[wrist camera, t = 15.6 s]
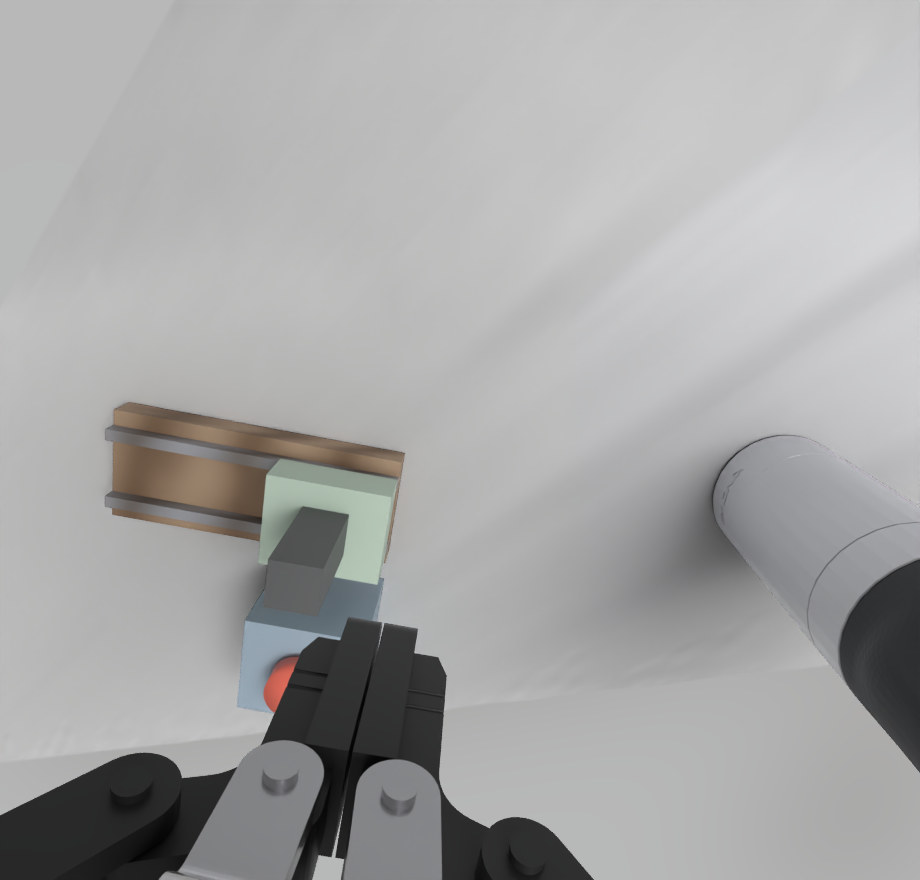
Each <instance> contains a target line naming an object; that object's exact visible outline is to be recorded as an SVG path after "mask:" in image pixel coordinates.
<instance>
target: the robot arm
mask: <svg viewBox="0 0 920 880" xmlns="http://www.w3.org/2000/svg"><path fill="white" fill-rule="evenodd" d="M713 511H714V514H715V518H716V521H717V523H718V525H719V527H720V529H721V530H722V532H723V533H724V534H725V536H726V537H727V538H728V539H729V540H730V542H731V543H732V544H733V545H734V547H735V548H736V549H737V550H738V552H739V553H740V554H741V555H742V557H743V558H744V559H745V561H746V562H747V563H748V564H749V566H750V567H751V568H752V569H753V570H754V572H755V573H756V574H757V575H758V577H759V578H760V579H761V580H762V582H763V583H764V584H765V585H766V587H767V588H768V589H769V590H770V591H771V593H772V594H773V595H774V596H775V598H776V599H777V600H778V601H779V603H780V604H781V605H782V606H783V608H784V609H785V610H786V611H787V612H788V614H789V615H790V616H791V617H792V619H793V620H794V621H795V622H796V624H797V625H798V626H799V627H800V629H801V630H802V631H803V632H804V633H805V635H806V636H807V637H808V638H809V640H810V641H811V642H812V643H813V645H814V646H815V647H816V648H817V650H818V651H819V652H820V653H821V654H822V656H823V657H824V658H825V659H826V660H827V662H828V663H829V664H830V665H831V666H832V668H833V669H834V670H835V671H836V673H837V674H838V675H839V676H840V678H841V679H842V680H843V681H844V682H845V684H846V685H847V686H848V687H849V689H850V690H851V691H852V692H853V693H854V695H855V696H856V697H857V698H858V700H859V701H860V702H861V703H862V704H863V706H864V707H865V708H866V709H867V710H868V711H869V713H870V714H871V715H872V716H873V717H874V718H875V720H876V721H877V722H878V723H879V724H880V725H881V727H882V728H883V729H884V730H885V731H886V732H887V734H889V736H890V737H891V738H892V739H893V740H894V742H895V743H896V744H897V745H898V746H899V748H900V749H901V750H902V751H903V752H904V754H905V755H906V756H907V757H908V759H909V760H910V761H911V762H912V764H913V765H914V766H915V767H916V769H917V770H918V771H919V772H920V506H918V505H916V504H915V503H913V502H912V501H910V500H908V499H907V498H905V497H904V496H902V495H900V494H899V493H897V492H896V491H894V490H892V489H891V488H889V487H887V486H886V485H884V484H883V483H881V482H879V481H878V480H876V479H875V478H873V477H871V476H870V475H868V474H867V473H865V472H863V471H862V470H860V469H859V468H857V467H855V466H854V465H852V464H851V463H850V462H848V461H846V460H845V459H843V458H841V457H840V456H838V455H837V454H835V453H833V452H832V451H830V450H829V449H827V448H825V447H824V446H822V445H820V444H819V443H817V442H814V441H812V440H810V439H808V438H803V437H798V436H776V437H771V438H766V439H763V440H761V441H758V442H756V443H753V444H751V445H750V446H748V447H746V448H745V449H743V450H742V451H740V452H739V453H738V454H737V455H736V456H735V457H734V458H732V459H731V460H730V461H729V463H728V464H727V465H726V467H725V468H724V469H723V471H722V472H721V474H720V476H719V478H718V481H717V483H716V485H715V490H714V495H713ZM381 628H382V623H381V622H376V621H370V620H364V619H359V618H353V617H348V619H347V622H346V625H345V628H344V630H343V633H342V636H341V639H340V640H335V639H329V638H324V637H317V638H316V639H315V640H314V641H313V642H311V643H310V644H309V645H308V646H307V647H305V648H304V649H303V650H302V651H301V653H300V656H299V658H298V660H297V663H296V665H295V667H294V671H293V672H292V674H291V677H290V679H289V681H288V684H287V687H286V688H285V691H284V693H283V695H282V698H281V700H280V702H279V705H278V707H277V709H276V711H275V714H274V716H273V718H272V721H271V723H270V725H269V728H268V730H267V732H266V735H265V737H264V740H263V742H262V744H261V745H260V746H258V747H257V748H255V749H253V750H252V751H251V752H249V753H248V754H247V755H246V756H245V757H244V758H243V759H242V761H241V763H240V764H239V766H238V767H236V768H234V769H232V770H229V771H226V772H223V773H220V774H214V775H208V776H199V777H190V778H182V776H181V773H180V770H179V769H178V767H177V765H176V764H175V763H174V762H173V761H171V760H170V759H168V758H167V757H164V756H162V755H158V754H153V753H135V754H130V755H126V756H122V757H119V758H117V759H115V760H112V761H110V762H108V763H106V764H104V765H102V766H100V767H98V768H96V769H94V770H92V771H90V772H88V773H86V774H84V775H81V776H80V777H78V778H75V779H73V780H71V781H69V782H67V783H65V784H63V785H61V786H59V787H57V788H55V789H53V790H51V791H49V792H47V793H45V794H43V795H41V796H39V797H37V798H35V799H33V800H31V801H29V802H27V803H24V804H22V805H20V806H18V807H16V808H14V809H12V810H10V811H8V812H6V813H4V814H2V815H0V880H312V878H313V874H314V871H315V867H316V863H317V859H318V855H321V856H328V857H331V856H332V852H333V849H334V844H335V840H336V836H337V832H338V828H339V824H340V819H341V815H342V820H341V827H340V832H339V838H338V845H337V851H336V858H341V859H344V864H343V870H342V876H341V880H593V878H592V877H591V876H590V875H589V874H588V872H586V870H585V869H584V868H583V867H582V866H581V864H580V863H579V862H578V861H577V860H576V858H575V857H574V856H573V855H572V854H571V853H570V851H569V850H568V849H567V848H566V847H565V846H564V844H563V843H562V842H561V841H560V840H559V839H558V837H557V836H555V834H554V833H553V832H551V831H550V830H549V829H548V828H546V827H545V826H543V825H542V824H540V823H538V822H535V821H533V820H530V819H526V818H520V817H511V818H506V819H503V820H500V821H498V822H496V823H495V824H494V825H492V826H491V827H490V828H487V827H486V826H483V825H481V824H479V823H477V822H475V821H473V820H471V819H469V818H468V817H466V816H464V815H463V814H462V813H460V812H459V811H457V810H456V809H455V808H454V807H453V806H452V805H451V803H450V802H449V801H448V799H447V798H446V796H445V795H444V793H443V791H442V788H441V785H440V781H439V766H440V753H441V741H442V727H443V712H444V702H445V690H446V677H447V675H446V673H445V671H444V669H443V667H442V665H441V663H440V661H439V658H438V657H433V656H427V655H421V654H415V653H414V650H415V644H416V638H417V631H418V629H416V628H410V627H405V626H399V625H393V624H388V623H385V624H384V628H383V632H382V636H381V640H380V634H381ZM379 640H380V644H379ZM378 646H379V648H378ZM343 807H344V808H343ZM342 811H343V814H342Z"/></svg>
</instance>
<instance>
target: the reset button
mask: <svg viewBox="0 0 920 880" xmlns="http://www.w3.org/2000/svg"><path fill="white" fill-rule="evenodd" d="M298 658H299V657H289V658H286V659H283V660H281V661H280V662H278V663H277V664H276V666H275V667H274V669H273V670H272V673H271V675H270V677H269V679H268V681H267V683H266V685H265V688H264V693H263V695H264V700H265V702H266V704H267V706H268V707H269V709H270V710H271V711H272V712H274V713H275V711H276V709H277V707H278V705H279V702H280V700H281V698H282V695H283V693H284V691H285V688H286V687H287V684H288V681H289V679H290V677H291V674H292V672H293V671H294V667H295V665H296V663H297V660H298Z"/></svg>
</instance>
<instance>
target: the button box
mask: <svg viewBox="0 0 920 880" xmlns="http://www.w3.org/2000/svg"><path fill="white" fill-rule="evenodd" d="M383 582H384V579H381V578H379V581H378V584H377V585H376V584H370V583H364V582H359V581H353V580H348V579H342V578H336V577H334V579H333V581H332V583H331V586H330V588H329V590H328V593H327V595H326V597H325V600H324V602H323V604H322V607H321V609H320V611H319V614H318V616H317V617H316V616H310V615H304V614H299V613H293V612H287V611H282V610H276V609H270V608H265V607H263V602H264V593H265V589H264V590H263V592H262V594H261V595H260V597H259V598H258V600H257V602H256V603H255V605H254V607H253V608H252V610H251V611H250V613H249V615H248V616H247V618H246V620H245V625H244V636H243V647H242V658H241V669H240V680H239V691H238V702H237V707H239V708H245V709H250V710H256V711H262V712H268V713H274V712H272V711H271V710H270V709H269V707H268V706H267V704H266V702H265V700H264V695H263V693H264V688H265V685H266V683H267V681H268V679H269V677H270V675H271V673H272V670H273V669H274V667H275V666H276V664H277V663H278V662H280V661H281V660H283V659H286V658H289V657H299V656H300V653H301V651H302V650H303V649H304V648H305V647H307V646H308V645H309V644H310V643H311V642H313V641H314V640H315V639H316V638H317V637H324V638H329V639H335V640H340V639H341V636H342V633H343V630H344V628H345V625H346V622H347V619H348V617H353V618H359V619H364V620H370V621H376V622H377V618H378V612H379V606H380V600H381V594H382V588H383ZM274 714H275V713H274Z"/></svg>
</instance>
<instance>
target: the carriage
mask: <svg viewBox="0 0 920 880" xmlns="http://www.w3.org/2000/svg"><path fill="white" fill-rule="evenodd" d="M396 486H397V480H395V479H389V478H384V477H378V476H373V475H368V474H362V473H357V472H351V471H346V470H340V469H335V468H329V467H324V466H318V465H313V464H307V463H302V462H296V461H291V460H285V459H280V460H279V461H278V462H277V463H276V464H275V465H274V467H273V468H272V469H271V470H270V471H269V472H268V473H267V474H266V483H265V494H264V504H263V515H262V525H261V536H260V546H259V557H258V564H264V565H267V573H266V583H265V593H264V602H263V607H265V608H270V609H276V610H282V611H287V612H293V613H299V614H304V615H310V616H316V617H317V616H318V614H319V611H320V609H321V607H322V604H323V602H324V600H325V597H326V595H327V593H328V590H329V588H330V586H331V583H332V581H333V579H334V577H336V578H342V579H348V580H353V581H359V582H364V583H370V584H376V585H377V584H378V581H379V578H380V574H381V571H382V567H383V564H384V559H385V553H386V547H387V541H388V535H389V529H390V523H391V517H392V511H393V505H394V498H395V492H396Z"/></svg>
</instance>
